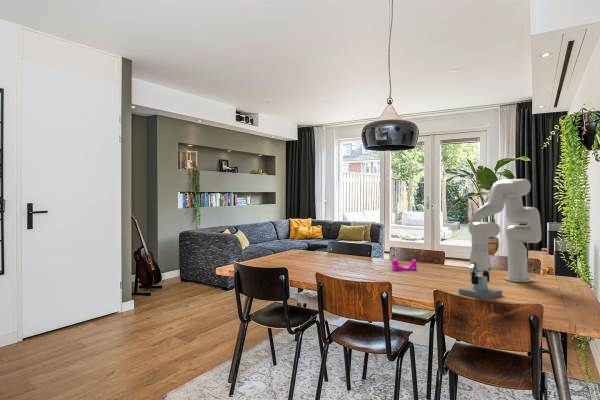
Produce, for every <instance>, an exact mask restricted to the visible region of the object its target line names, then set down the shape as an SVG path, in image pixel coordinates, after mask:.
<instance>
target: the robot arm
mask: <svg viewBox="0 0 600 400" xmlns="http://www.w3.org/2000/svg"><path fill="white" fill-rule="evenodd" d="M531 186H532V185H531V182H530V180H529V179H527V178H515V179H514V178H511V179H510V178H509V179H500V180H497V181H496V182H494V183H493V184H492V185H491V188H490V191H489V193H488V195H487V198H486V202H485V204H484V205H482V206H481V207H479V208H478V209H476V211H475V212H473V214H472V215H471V218H470V220H469V224H468V233H469V234H470V235H471V252H470V257H469V267H468V270H469V274H470V276H471V277H470V281H471V284H472V285H473V284H476V285H478V276H477V275H479V273H482V276H487V283H489V282H490V273H491V268H492V267H491V266H492V264H491V263H490V255H489V249H490V248H489V242H490V241H489V238H495V237H497V236H499V234H500V232H501V228H500V227H501V226H500V225H499V224H498V223H497V222H494V221H482V220H483V219H485V218H488V217H490V216H493V215H496V214H498V213H500V212H502V211H503V210H504V207H505V211H506V212H505V213H506V219H507V221H508V223H511V224H513V225H509V226H507V227H506V229H505V237H506V242H507V244H506V245H507V276H505V277H504V280H506V281H509V282H515V283H529V282H531V279H530V278H536V274H535V273H530V272H528V250H527V248H526V245H524V243H527V244H528V243H531V244H538V243H540V242H541V241H542V226H541V224H542V223H541V216H540V212H539V209H538V208H536V207H534V206H524V203H523V198H522V197H523V196H526V195H528V194H529V193H530V191H531ZM522 224H523V225H522Z"/></svg>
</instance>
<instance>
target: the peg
mask: <svg viewBox="0 0 600 400" xmlns="http://www.w3.org/2000/svg"><path fill="white" fill-rule="evenodd" d="M477 276H478V285H476V284H472V286H473V290H478V291H487V288H488V282H487V276H483V275H481V274H478V275H477Z"/></svg>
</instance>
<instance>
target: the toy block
mask: <svg viewBox="0 0 600 400" xmlns="http://www.w3.org/2000/svg"><path fill="white" fill-rule="evenodd" d="M391 261H392V263H391V268H392V270H393V272H395V271H399V272H409V271H413V270H414V271H417V260H416V259H411V262H410V263H409V264H408V265H406V266H404V265H403V266H402V265H400V264H399V261H398V259H392V260H391Z"/></svg>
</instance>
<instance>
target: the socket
mask: <svg viewBox="0 0 600 400" xmlns="http://www.w3.org/2000/svg"><path fill="white" fill-rule="evenodd" d="M458 294H459V295H463V296H469V297H472V298H477V299H481V300H485V299H487V300H492V299H494V298H498V297H501V296H503V290H501V289H497V288H493V287H487V291H478V290H473V285H469V286H465V287H464V286H463V287H460V288H458Z"/></svg>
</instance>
